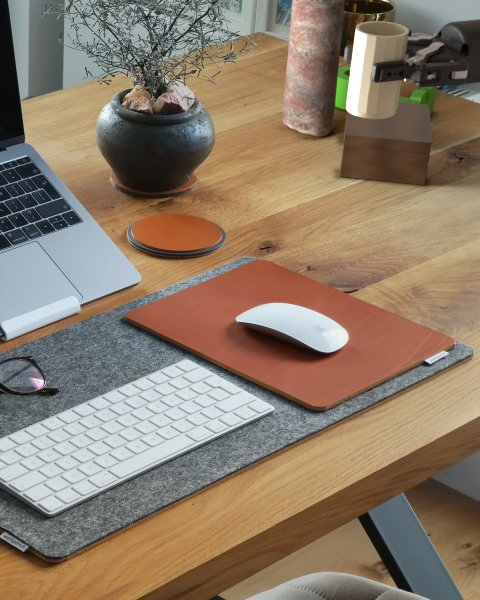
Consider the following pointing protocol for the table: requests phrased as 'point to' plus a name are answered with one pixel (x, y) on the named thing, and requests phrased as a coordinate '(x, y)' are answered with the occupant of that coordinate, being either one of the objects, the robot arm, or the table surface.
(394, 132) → the dark walnut wood block
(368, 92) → the pen cup
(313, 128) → the candle
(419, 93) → the tape dispenser
